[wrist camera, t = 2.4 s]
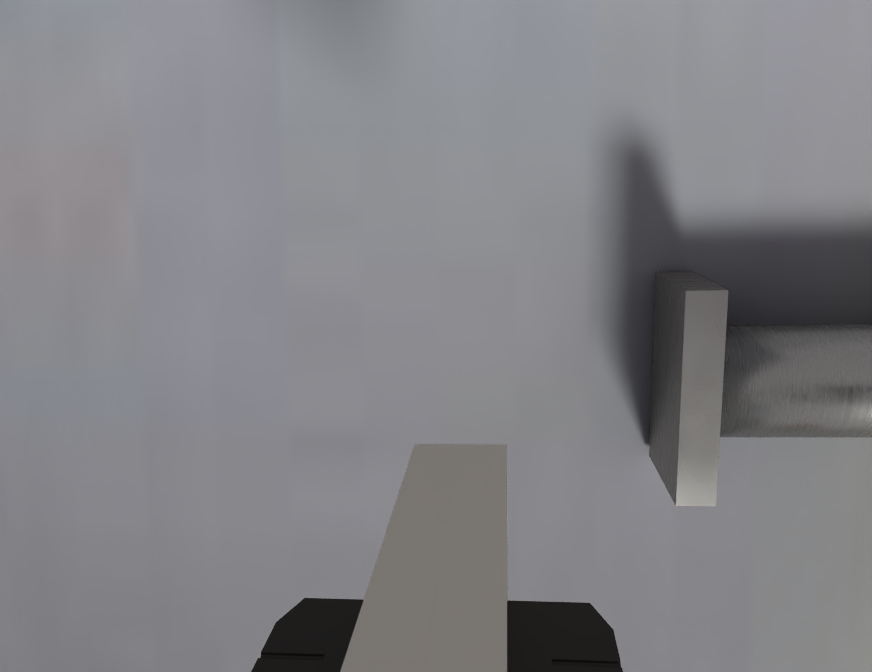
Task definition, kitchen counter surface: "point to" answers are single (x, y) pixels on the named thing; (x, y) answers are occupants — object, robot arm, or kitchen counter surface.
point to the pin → (744, 383)
